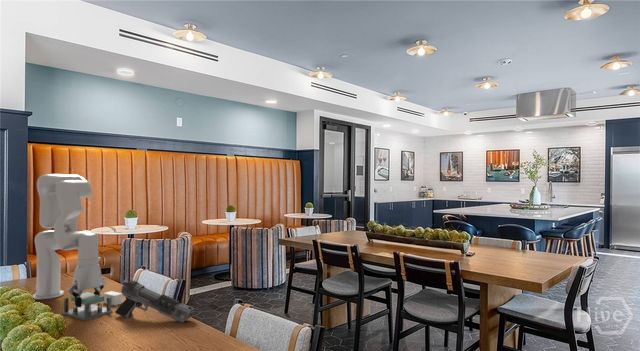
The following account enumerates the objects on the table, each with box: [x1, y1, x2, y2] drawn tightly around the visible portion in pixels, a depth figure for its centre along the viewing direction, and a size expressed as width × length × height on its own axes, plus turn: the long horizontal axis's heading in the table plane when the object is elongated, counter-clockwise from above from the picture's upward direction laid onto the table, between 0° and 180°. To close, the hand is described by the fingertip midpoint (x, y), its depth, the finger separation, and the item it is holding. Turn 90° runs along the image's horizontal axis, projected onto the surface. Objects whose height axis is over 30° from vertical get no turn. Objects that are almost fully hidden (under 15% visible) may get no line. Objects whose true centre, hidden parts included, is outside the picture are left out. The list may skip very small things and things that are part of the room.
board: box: [70, 291, 104, 305], centre depth 169 cm, size 12×7×2 cm, turn 61°
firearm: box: [114, 279, 195, 324], centre depth 163 cm, size 4×33×15 cm, turn 79°
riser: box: [102, 290, 123, 307], centre depth 182 cm, size 8×4×4 cm, turn 61°
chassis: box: [61, 291, 114, 321], centre depth 169 cm, size 16×12×6 cm
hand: (87, 303), depth 169 cm, fingers closed on board, 7 cm apart
